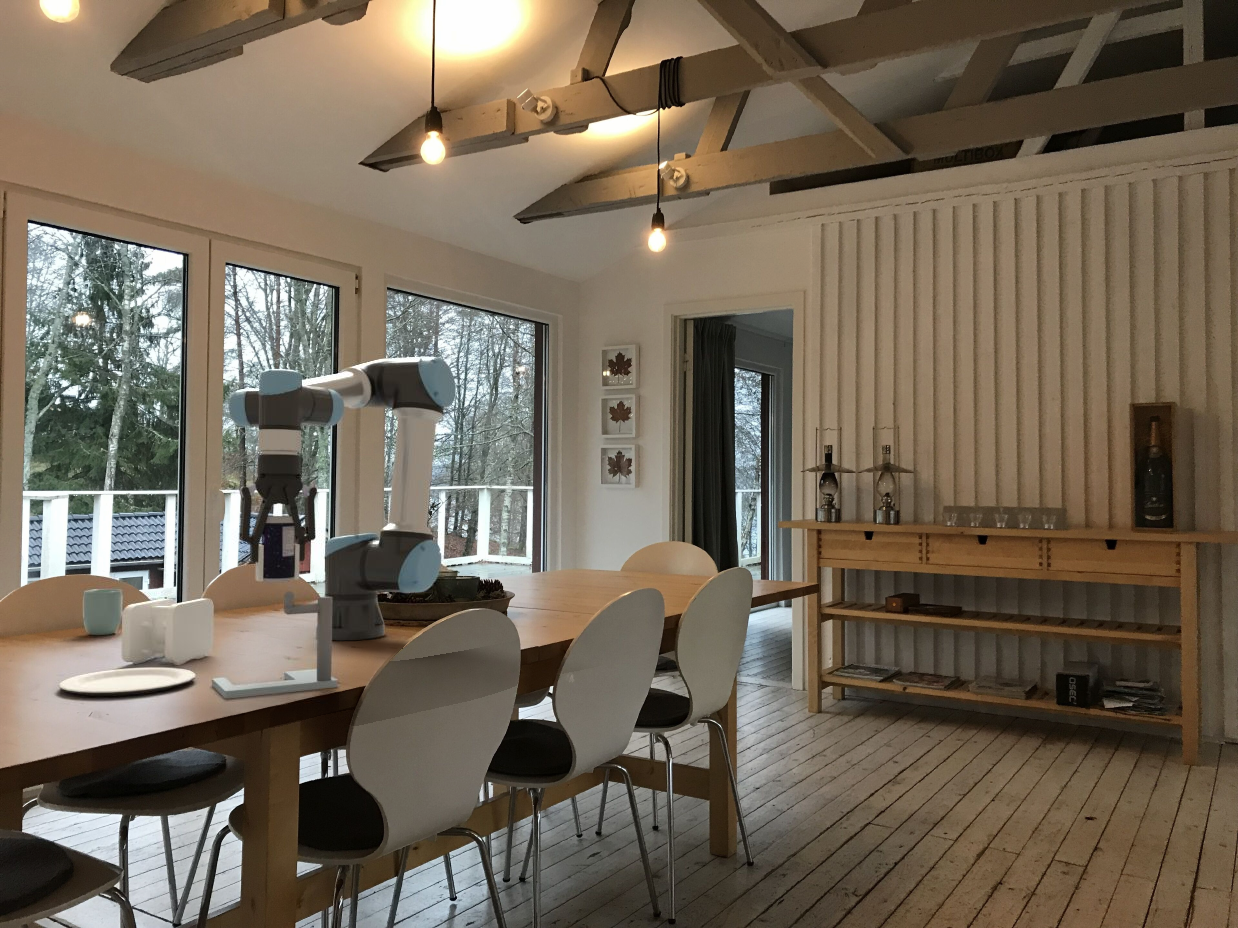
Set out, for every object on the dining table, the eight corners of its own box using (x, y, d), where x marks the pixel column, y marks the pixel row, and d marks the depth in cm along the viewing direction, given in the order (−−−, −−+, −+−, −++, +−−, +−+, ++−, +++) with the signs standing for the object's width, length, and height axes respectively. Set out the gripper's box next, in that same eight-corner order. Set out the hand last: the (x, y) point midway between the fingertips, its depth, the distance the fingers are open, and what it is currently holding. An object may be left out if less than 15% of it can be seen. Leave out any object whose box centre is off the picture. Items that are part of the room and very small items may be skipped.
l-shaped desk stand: (318, 675, 175) (319, 583, 175) (337, 686, 165) (338, 589, 165) (211, 685, 165) (213, 588, 166) (225, 698, 155) (227, 594, 155)
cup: (109, 636, 218) (110, 592, 218) (75, 636, 218) (76, 592, 218) (127, 631, 226) (128, 588, 226) (94, 631, 226) (95, 588, 226)
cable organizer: (170, 668, 181) (171, 606, 181) (117, 666, 182) (119, 605, 182) (214, 655, 196) (215, 597, 196) (165, 653, 197) (166, 596, 197)
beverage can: (285, 579, 182) (286, 515, 182) (299, 581, 178) (300, 516, 178) (255, 581, 178) (256, 516, 178) (269, 583, 174) (270, 516, 174)
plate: (103, 675, 175) (103, 665, 175) (216, 676, 175) (216, 667, 175) (29, 700, 155) (30, 689, 155) (158, 702, 154) (158, 691, 154)
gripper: (324, 455, 186) (322, 576, 186) (221, 453, 176) (219, 580, 176) (336, 454, 180) (334, 579, 179) (229, 451, 170) (227, 583, 169)
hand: (277, 579), depth 178 cm, fingers closed on beverage can, 6 cm apart
